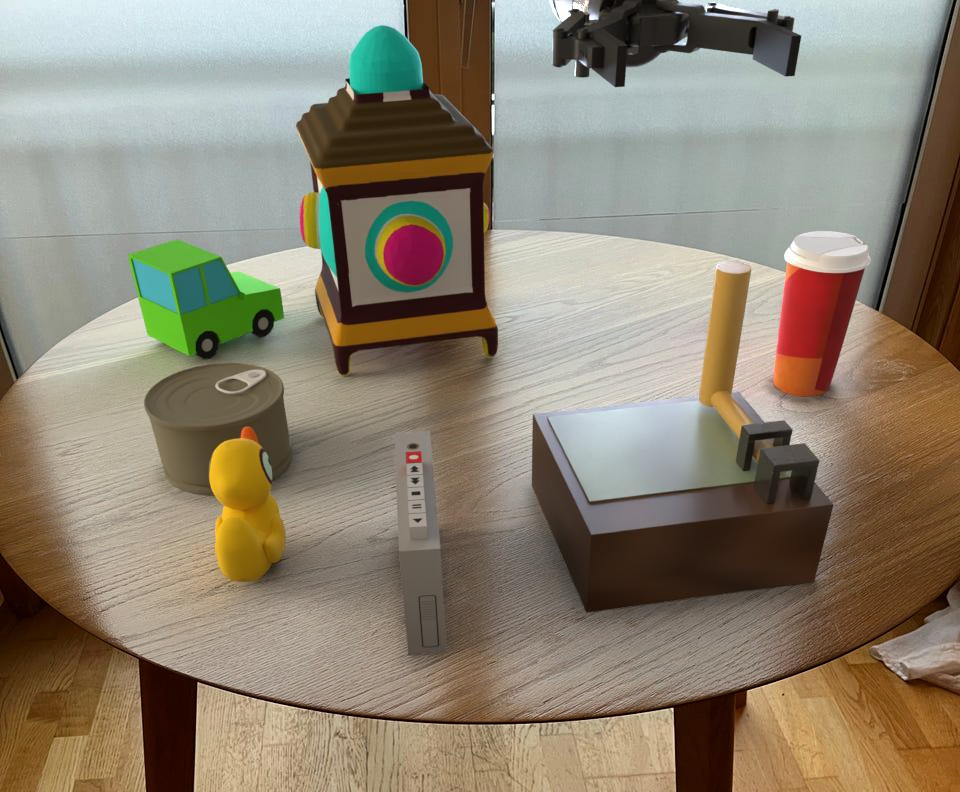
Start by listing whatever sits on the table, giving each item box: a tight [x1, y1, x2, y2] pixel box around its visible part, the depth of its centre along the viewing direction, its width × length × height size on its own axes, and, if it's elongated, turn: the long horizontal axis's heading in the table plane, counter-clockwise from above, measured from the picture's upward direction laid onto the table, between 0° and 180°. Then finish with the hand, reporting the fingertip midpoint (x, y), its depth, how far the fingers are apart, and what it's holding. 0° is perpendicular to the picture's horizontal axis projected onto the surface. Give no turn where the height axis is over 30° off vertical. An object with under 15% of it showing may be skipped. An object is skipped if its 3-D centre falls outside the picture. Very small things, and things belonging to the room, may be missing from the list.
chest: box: [531, 391, 835, 614], centre depth 78 cm, size 18×18×10 cm
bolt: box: [698, 260, 774, 463], centre depth 75 cm, size 3×12×11 cm, turn 11°
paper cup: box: [772, 230, 871, 397], centre depth 96 cm, size 8×8×14 cm
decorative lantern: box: [295, 24, 499, 377], centre depth 101 cm, size 20×20×30 cm
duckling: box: [209, 427, 287, 583], centre depth 76 cm, size 11×5×10 cm, turn 1°
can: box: [143, 362, 293, 496], centre depth 89 cm, size 12×12×7 cm
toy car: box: [127, 238, 285, 360], centre depth 109 cm, size 10×13×10 cm
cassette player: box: [394, 430, 447, 656], centre depth 73 cm, size 16×3×10 cm, turn 5°
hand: (708, 61), depth 75 cm, fingers open, 13 cm apart
